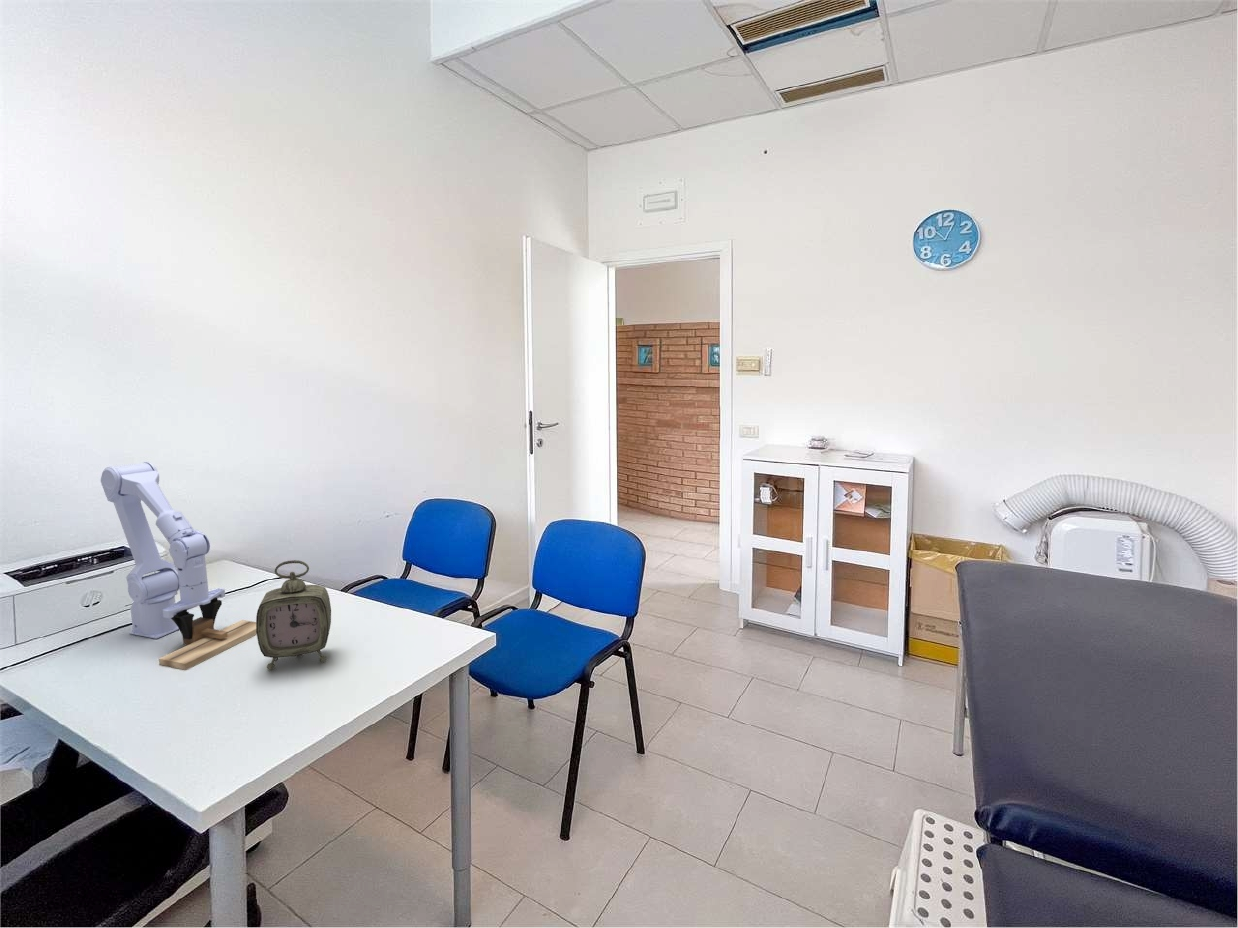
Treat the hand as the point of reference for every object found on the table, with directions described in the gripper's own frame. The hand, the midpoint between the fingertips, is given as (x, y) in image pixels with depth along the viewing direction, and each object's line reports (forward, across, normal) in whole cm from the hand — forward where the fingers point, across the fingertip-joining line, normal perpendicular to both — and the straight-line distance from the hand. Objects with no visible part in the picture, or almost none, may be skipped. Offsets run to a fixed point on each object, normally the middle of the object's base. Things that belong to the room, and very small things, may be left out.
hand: (198, 633), depth 146 cm
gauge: (+2, 0, -3) cm, 4 cm away
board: (+2, -1, -6) cm, 7 cm away
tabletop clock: (+2, -1, -31) cm, 31 cm away
